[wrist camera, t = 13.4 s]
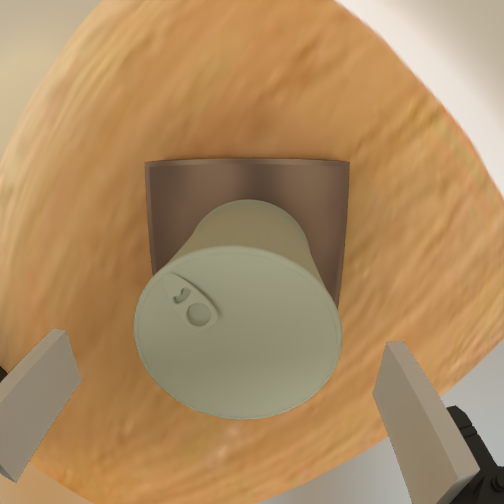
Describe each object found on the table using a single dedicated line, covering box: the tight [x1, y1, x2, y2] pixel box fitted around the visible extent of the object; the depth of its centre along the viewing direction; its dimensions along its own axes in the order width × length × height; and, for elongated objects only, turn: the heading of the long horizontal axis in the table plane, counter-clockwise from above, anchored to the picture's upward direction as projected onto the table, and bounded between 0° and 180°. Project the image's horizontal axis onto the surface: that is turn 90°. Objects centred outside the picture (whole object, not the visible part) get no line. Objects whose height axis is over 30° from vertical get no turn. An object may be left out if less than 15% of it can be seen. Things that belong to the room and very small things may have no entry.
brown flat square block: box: [145, 158, 350, 310], centre depth 26 cm, size 15×15×4 cm
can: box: [134, 199, 342, 420], centre depth 18 cm, size 9×9×12 cm
